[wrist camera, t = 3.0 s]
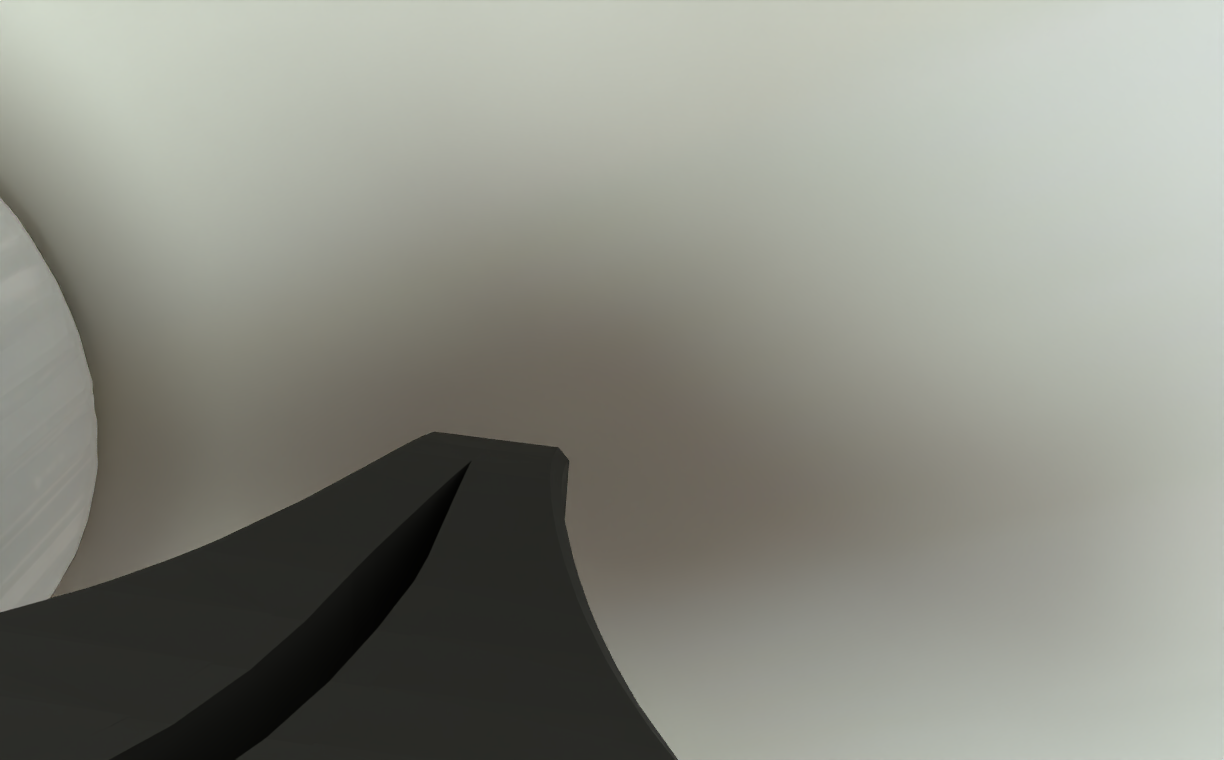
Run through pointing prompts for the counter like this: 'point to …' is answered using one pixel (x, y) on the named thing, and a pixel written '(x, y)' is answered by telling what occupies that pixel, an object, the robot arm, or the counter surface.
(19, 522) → the ramekin
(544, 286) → the counter surface
